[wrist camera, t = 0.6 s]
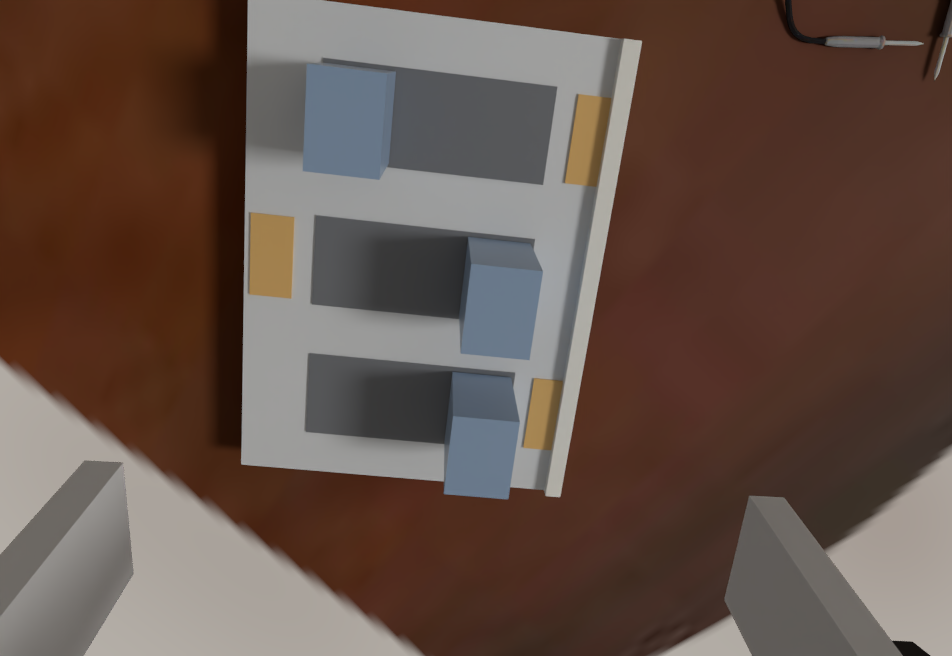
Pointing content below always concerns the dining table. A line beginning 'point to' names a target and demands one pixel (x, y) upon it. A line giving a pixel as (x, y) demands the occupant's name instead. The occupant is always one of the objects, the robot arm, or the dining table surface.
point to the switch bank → (420, 233)
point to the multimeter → (949, 30)
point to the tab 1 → (348, 120)
